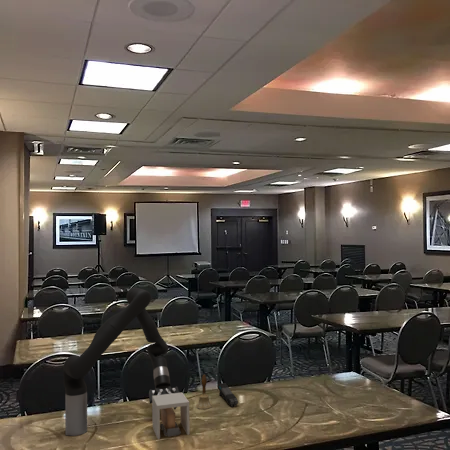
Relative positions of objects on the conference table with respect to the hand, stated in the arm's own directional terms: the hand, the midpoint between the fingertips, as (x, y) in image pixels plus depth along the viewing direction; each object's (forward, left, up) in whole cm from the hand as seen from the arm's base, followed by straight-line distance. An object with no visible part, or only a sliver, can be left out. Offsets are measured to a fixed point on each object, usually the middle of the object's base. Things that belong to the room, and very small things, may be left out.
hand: (166, 409), depth 223 cm
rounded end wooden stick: (0, -5, -6) cm, 8 cm away
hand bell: (+22, +14, -6) cm, 27 cm away
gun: (+36, +18, -6) cm, 40 cm away
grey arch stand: (0, -11, -6) cm, 12 cm away
